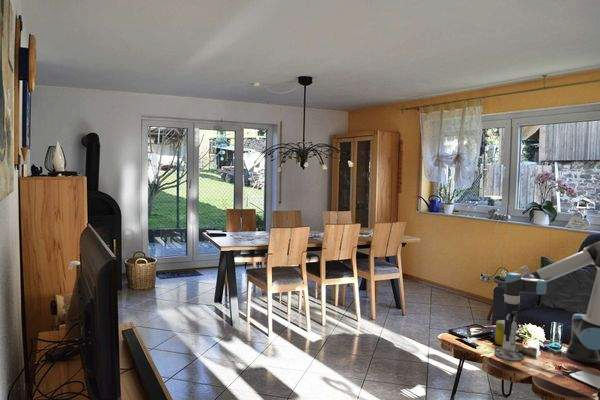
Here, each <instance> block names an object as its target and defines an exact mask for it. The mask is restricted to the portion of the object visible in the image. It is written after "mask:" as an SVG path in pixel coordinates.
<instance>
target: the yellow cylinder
mask: <svg viewBox="0 0 600 400" xmlns="http://www.w3.org/2000/svg"><path fill="white" fill-rule="evenodd" d="M504 322H505V319H498V320H496V321H495V332H494V333H495V336H494V343H495V344H497V345H499V346H501V347H502V346H503V342H504Z"/></svg>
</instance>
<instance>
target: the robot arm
mask: <svg viewBox="0 0 600 400" xmlns="http://www.w3.org/2000/svg"><path fill="white" fill-rule="evenodd" d="M589 265H594V267H595V268H596V270H597V271H596V275H595V279H594V281H593V282H594V283H593V286H592V291H591V294H590V297H589V302H588V305H587V310H586V314H585V313H574V314H572V318H571V333H570V334H571V335H570V342H569V344H568V346H567V348H566V353H565V354H566V356H567V357H568V358H569V359H572V360H574V361H577V362H582V363H586V364H587V363H588V364H597V363H599V362H600V353H599V351H600V240H599V241H597V242H594V243H593V244H589V245H587V246H586V247H585V246H584V247H583V249H582V251H580V252H579V251H578V252H577V253H574V254H572V255H570V256H567V257H565V258H563V259H560V260H558V261H556V262H553V263H550V264H548V265H546V266H544V267H542V268H539V269H537V270H535V271H532V272H526V273H524V274H523V275H521V273H517V272H507V273H506V274H505V278H504V279H505V280H504V294H503V299H504V300H503V309H504V310H506V311H507V312H506V313H505V316H504V320H505V327H504V334H505V347H509V348H510V347H511V326H512V323H513V320H514V321H515V322H516V323H517V320H518V318H517V317H518V312H519V311H520V306H521V305H520V302H521V293H525V294H535V295H545V294H546V293H547V285H548V284H547V283H548V282H550V281H553V280H555V279H558V278H560V277H562V276H565V275H568V274H569V273H572V272H575V271H577V270H579V269H581V268H583V267H584V268H585V267H586V266H589ZM514 317H515V319H514ZM517 331H518V329H517V330H516V333H517Z"/></svg>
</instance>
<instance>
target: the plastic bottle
mask: <svg viewBox="0 0 600 400" xmlns="http://www.w3.org/2000/svg"><path fill="white" fill-rule="evenodd" d="M514 319H515V317H514ZM504 327H505V322H504ZM517 328H518V324H517V322H515V321H514V320H513V323H512V326H511V347H510V348H509V347H505V334H504V342H503V346H502V345H501V347H502V349H503V350H504V351H505V352H507V353H515V351H516V344H517V343H516V336H517V335H516V334H517V332H516V330H517V331H518V329H517Z"/></svg>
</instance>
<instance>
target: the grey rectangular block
mask: <svg viewBox="0 0 600 400" xmlns="http://www.w3.org/2000/svg"><path fill="white" fill-rule="evenodd" d="M515 344H516V351H519V352H520V353H521V354H522V355H526V356H531V357H534V358H536V357H537V353H538V349H537V348H536V347H532V346H529V345H528V346H527V345H524V344H519V343H515Z"/></svg>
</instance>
